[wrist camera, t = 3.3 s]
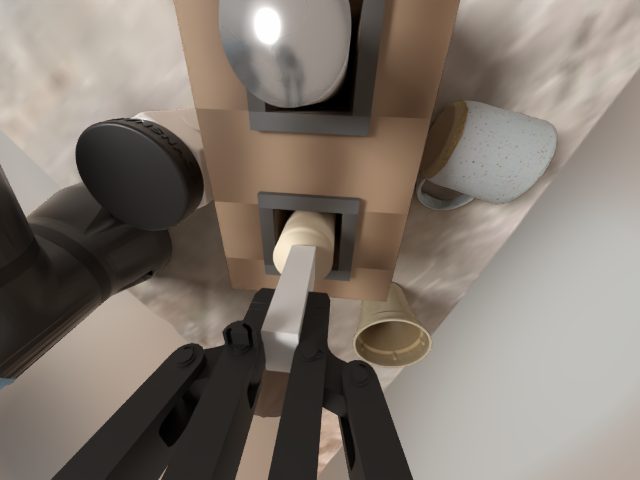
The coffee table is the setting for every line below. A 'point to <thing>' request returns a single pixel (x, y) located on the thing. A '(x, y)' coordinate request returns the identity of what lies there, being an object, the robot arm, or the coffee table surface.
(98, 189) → the jar
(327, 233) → the peg ash
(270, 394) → the decorative dome
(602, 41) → the coffee table surface
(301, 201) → the walnut block
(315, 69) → the peg steel
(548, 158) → the ceramic mug
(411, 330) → the flower pot
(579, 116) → the coffee table surface
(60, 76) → the coffee table surface
